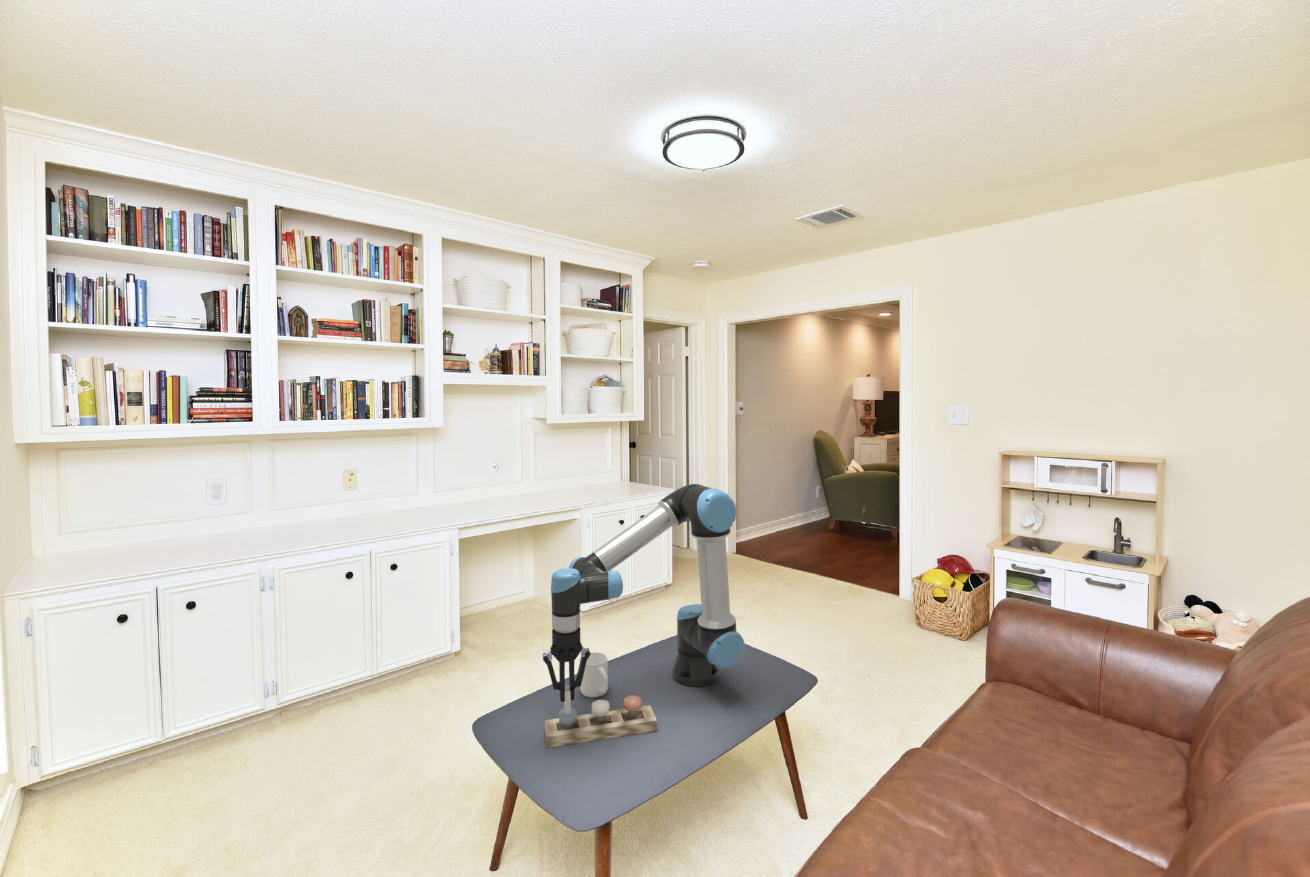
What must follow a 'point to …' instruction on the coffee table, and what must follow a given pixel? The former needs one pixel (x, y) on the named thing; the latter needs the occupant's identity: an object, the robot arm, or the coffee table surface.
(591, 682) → the mug
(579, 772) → the coffee table surface
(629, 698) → the terracotta ball
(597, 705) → the cream rounded piece
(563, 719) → the slate ball
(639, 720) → the three-ball wooden rack
